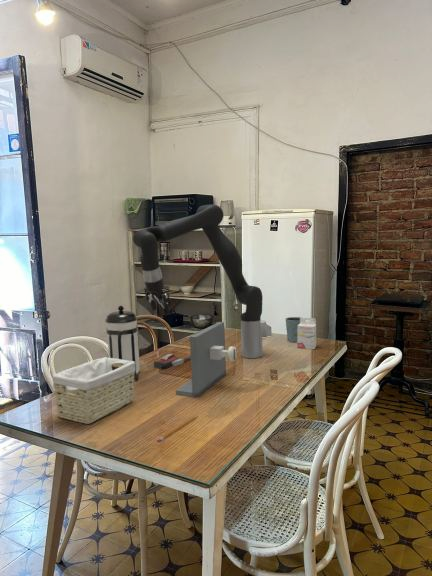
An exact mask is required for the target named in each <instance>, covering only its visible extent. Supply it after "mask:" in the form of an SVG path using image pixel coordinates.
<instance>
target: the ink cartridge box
mask: <svg viewBox="0 0 432 576" xmlns="http://www.w3.org/2000/svg"><path fill="white" fill-rule="evenodd" d="M316 323H317V319H316V318H311V317H302V318H300V324H299V325H298V328H297V343H296V344H297V346H296V347H297V349H305V350H312V349H314V350H315V349H316V348H317V324H316Z"/></svg>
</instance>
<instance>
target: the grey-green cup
mask: <svg viewBox="0 0 432 576" xmlns="http://www.w3.org/2000/svg"><path fill="white" fill-rule="evenodd" d="M300 318H303V317H301V316H291V317H286V318H285V327H286V329H285V330H286V337H287V338H286V339H287V342H288V341H289V342H288V343H293V344H295V343H296V344H297V328H298V325H299V324H300Z"/></svg>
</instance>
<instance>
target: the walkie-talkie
mask: <svg viewBox="0 0 432 576" xmlns="http://www.w3.org/2000/svg"><path fill="white" fill-rule="evenodd" d="M190 359H191V355H189V356H187V357H184V358H181V357H180V356H177V355H176V354H174V353H168V354H166V355H164V356H163V357H160V359H157V360H155V361H153V367H154V368H156V369H160V370H166V369H169V368H170V367H177V366H179V365H180V366H181V365H183V364H184V363H185V361H188V360H190Z"/></svg>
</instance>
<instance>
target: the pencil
mask: <svg viewBox="0 0 432 576" xmlns="http://www.w3.org/2000/svg"><path fill="white" fill-rule="evenodd" d="M197 418H198V416H197V415H196V416H194V417H192V418H190V419H188V420H186V421H185V422H184V423H182V424H181V425H178V426H177V427H175V428H174V429H172V430H170V431H169V432H167V433H166V434H164V435H163V436H161V437H159V438H157V440H156V441H157V443H160V442H162V441H164V440H165V439H167V438H168V437H170V436H171V435H173V434H174V433H176V432H178V431H180V430H181V429H182V428H184V427H185V426H187V425H189V424H190V423H192V422H193V421H195V420H196V419H197Z"/></svg>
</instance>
